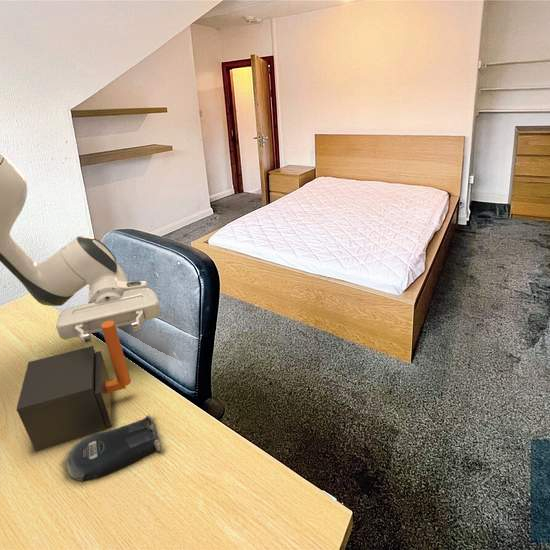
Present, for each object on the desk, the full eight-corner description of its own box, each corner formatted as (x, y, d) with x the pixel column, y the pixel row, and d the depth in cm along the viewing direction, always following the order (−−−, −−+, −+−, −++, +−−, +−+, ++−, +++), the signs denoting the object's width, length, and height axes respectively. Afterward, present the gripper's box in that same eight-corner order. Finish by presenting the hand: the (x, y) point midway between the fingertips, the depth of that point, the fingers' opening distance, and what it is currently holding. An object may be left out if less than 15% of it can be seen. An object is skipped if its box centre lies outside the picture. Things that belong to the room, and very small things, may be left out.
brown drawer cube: (106, 386, 89) (93, 345, 84) (107, 433, 77) (92, 388, 72) (45, 404, 85) (28, 361, 80) (37, 455, 73) (16, 409, 69)
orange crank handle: (132, 375, 90) (113, 305, 82) (137, 417, 78) (115, 341, 71) (53, 397, 85) (24, 325, 77) (46, 445, 74) (11, 367, 66)
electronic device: (151, 425, 80) (66, 449, 73) (151, 405, 77) (62, 428, 71) (162, 466, 73) (69, 496, 66) (162, 445, 70) (64, 475, 63)
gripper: (54, 300, 87) (48, 333, 75) (153, 279, 93) (160, 307, 81) (63, 325, 90) (58, 361, 78) (158, 303, 96) (166, 333, 84)
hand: (111, 333), depth 80 cm, fingers open, 8 cm apart
